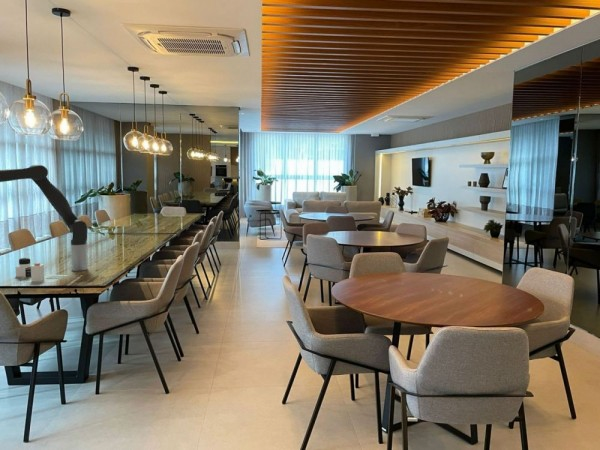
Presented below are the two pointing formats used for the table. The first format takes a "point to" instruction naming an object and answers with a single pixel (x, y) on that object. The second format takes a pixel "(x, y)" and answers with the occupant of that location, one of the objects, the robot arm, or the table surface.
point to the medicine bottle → (23, 268)
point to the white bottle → (37, 272)
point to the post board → (50, 278)
